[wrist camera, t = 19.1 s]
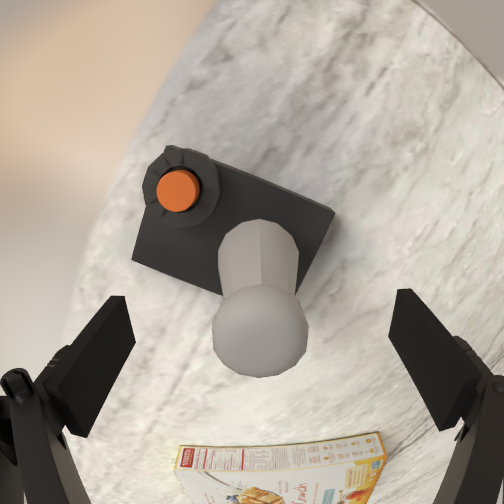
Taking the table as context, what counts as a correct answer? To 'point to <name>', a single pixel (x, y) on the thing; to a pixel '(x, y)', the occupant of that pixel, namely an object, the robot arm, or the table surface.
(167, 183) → the button
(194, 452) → the cereal box
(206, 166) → the scale
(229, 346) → the salt shaker
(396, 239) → the table surface
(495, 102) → the table surface
